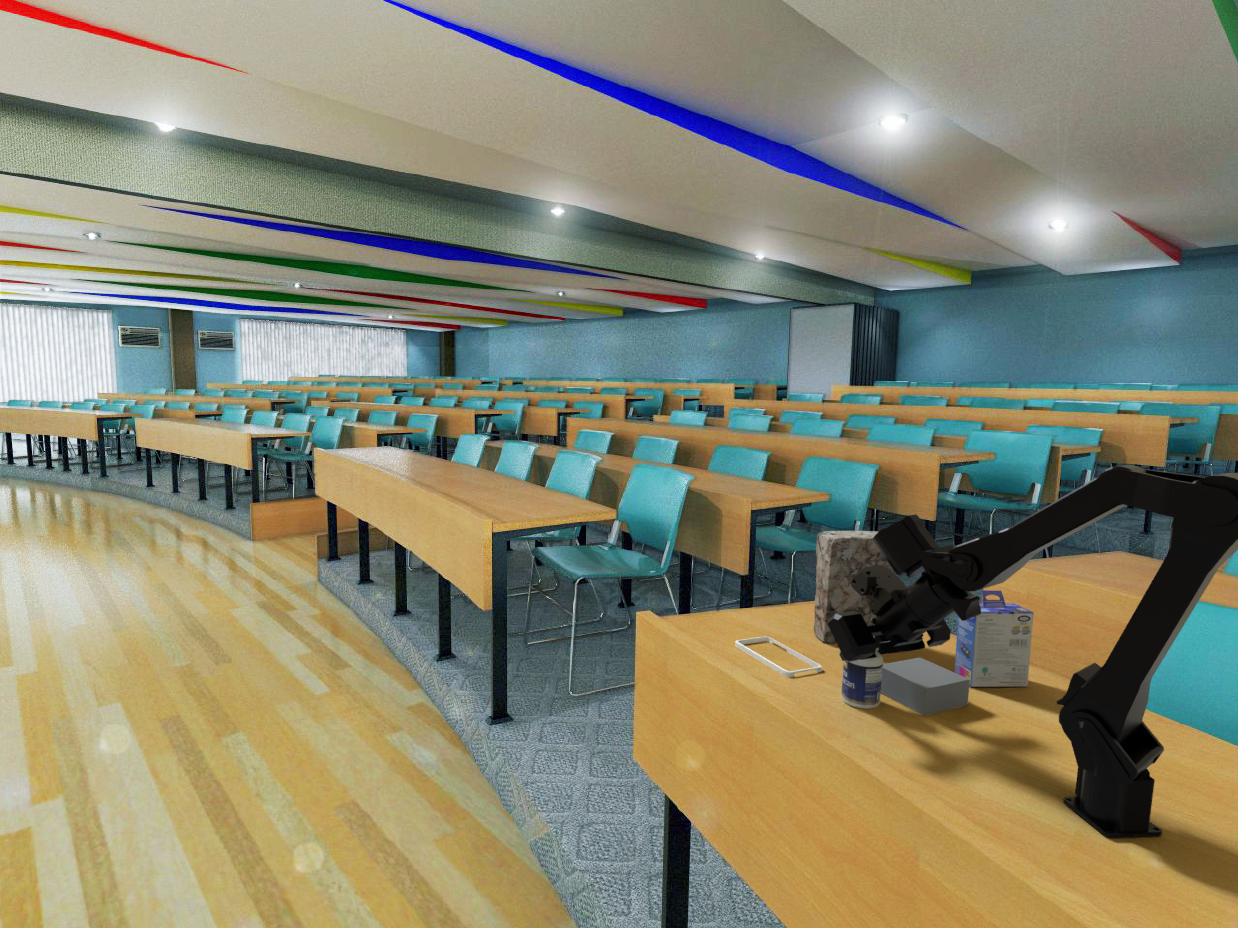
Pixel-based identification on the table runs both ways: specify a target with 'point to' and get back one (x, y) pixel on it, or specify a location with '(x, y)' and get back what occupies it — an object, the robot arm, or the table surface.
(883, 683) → the slate block
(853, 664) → the pill bottle
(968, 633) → the ink cartridge box
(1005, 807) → the table surface
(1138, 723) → the robot arm
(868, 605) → the stone block
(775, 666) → the phone case
